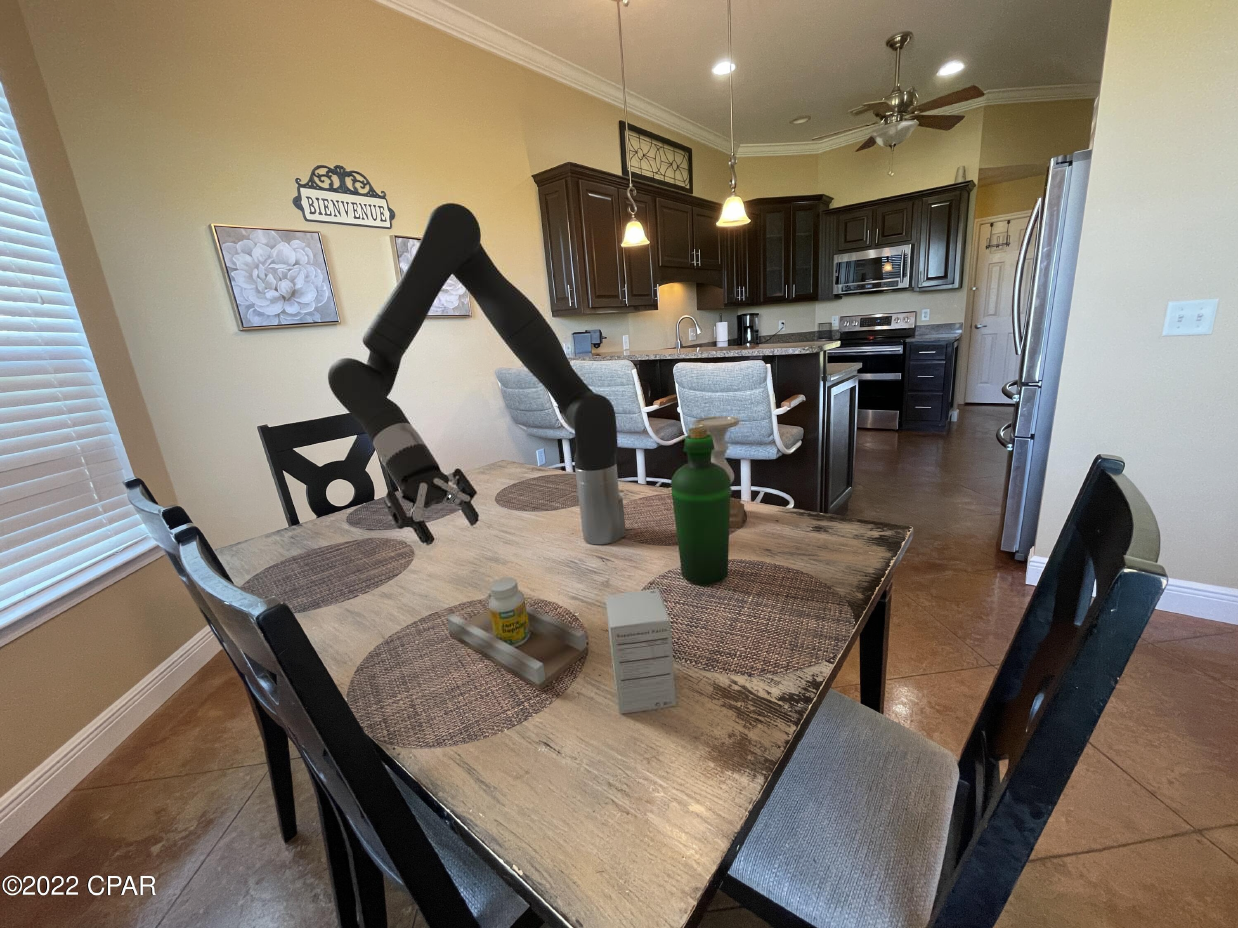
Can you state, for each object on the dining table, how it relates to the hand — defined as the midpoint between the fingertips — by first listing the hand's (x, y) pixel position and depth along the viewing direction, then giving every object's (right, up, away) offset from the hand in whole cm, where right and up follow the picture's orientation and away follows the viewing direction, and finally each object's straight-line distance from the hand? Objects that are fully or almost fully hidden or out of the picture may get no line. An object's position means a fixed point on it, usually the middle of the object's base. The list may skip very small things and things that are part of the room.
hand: (454, 532), depth 80 cm
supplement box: (+31, -18, -17) cm, 40 cm away
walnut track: (+12, -17, -6) cm, 21 cm away
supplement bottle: (+11, -16, -6) cm, 20 cm away
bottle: (+44, -10, +9) cm, 46 cm away
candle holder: (+52, -2, +35) cm, 62 cm away
